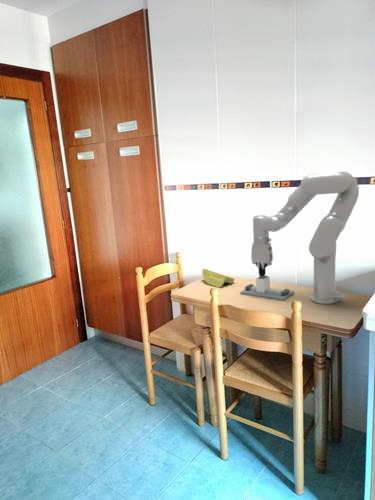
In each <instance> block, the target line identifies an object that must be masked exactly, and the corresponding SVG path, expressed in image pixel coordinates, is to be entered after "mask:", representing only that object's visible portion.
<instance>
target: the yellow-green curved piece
mask: <svg viewBox="0 0 375 500" xmlns="http://www.w3.org/2000/svg"><path fill="white" fill-rule="evenodd" d="M201 270H202V271H201V275H202V278H203V280H204V281H205V283H207V284H208V285H210V286H213V287H216V288H222V287H223V286H224V284H225V283H227V284H231V285H233V284H234V281H235V278H233V277H230V276H227V275H224V274H221V273H218V272H214V271H213V270H208V269H206V268H202V269H201Z"/></svg>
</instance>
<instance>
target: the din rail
mask: <svg viewBox="0 0 375 500" xmlns="http://www.w3.org/2000/svg"><path fill="white" fill-rule="evenodd" d="M271 288H272V287H270V288H268V289H267V290H265V293H270V294H276V295H281V296H286V295H288V294H289V291H290V289H287V288H284V289H279V290H278V289H277V288H272V289H271ZM244 290H246V291H249V290H250V291H256V292H257V289H256V285H254V284H253V283H249V284H247V285H246V286H245V287H244Z"/></svg>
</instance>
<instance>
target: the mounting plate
mask: <svg viewBox="0 0 375 500" xmlns="http://www.w3.org/2000/svg"><path fill="white" fill-rule="evenodd" d="M270 288H271V289H273V288H272V287H270ZM278 290H280V289H278ZM239 293H240V295H243V296H249V297H256V298H263V299H269V300H275V301H281V302H285V301H286V300H288V299H289V298H291V297H292V296H293V295H295V291H293V290H289V294H288V295H286V296H281V295H276V294H270V293H261V292H256V291H250V290H249V291H246V290H245V289H243V290H241V291H240V292H239Z"/></svg>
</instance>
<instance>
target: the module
mask: <svg viewBox="0 0 375 500" xmlns="http://www.w3.org/2000/svg"><path fill="white" fill-rule="evenodd" d="M255 283H256V284H255V286H256V289H257V292H261V293H265V290H267V289H268V288H271V282H270V276H269V275H266V274H265V275H264V276H258V277H257V278H255Z"/></svg>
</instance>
